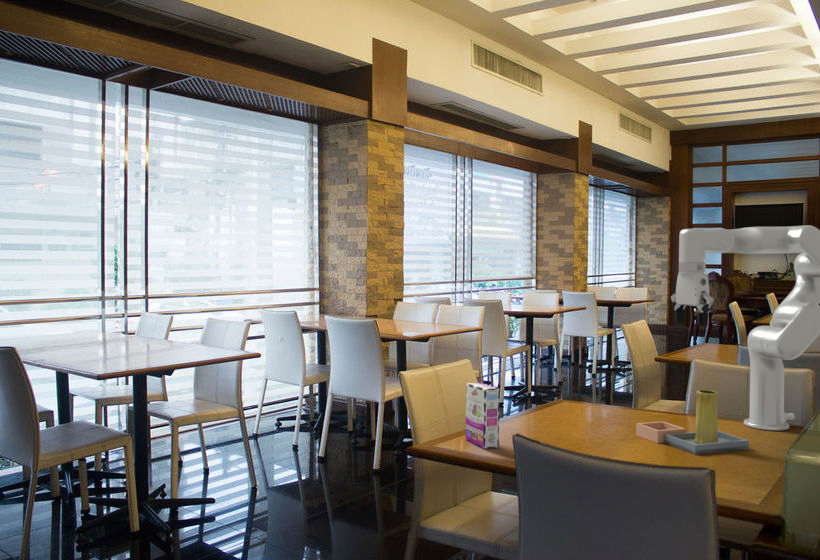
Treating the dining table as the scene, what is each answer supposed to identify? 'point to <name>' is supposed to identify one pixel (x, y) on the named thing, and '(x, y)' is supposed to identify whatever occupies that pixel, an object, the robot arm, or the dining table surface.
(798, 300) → the robot arm
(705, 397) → the vase
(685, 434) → the tray
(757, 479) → the dining table surface
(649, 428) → the holder
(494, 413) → the candy bar box
